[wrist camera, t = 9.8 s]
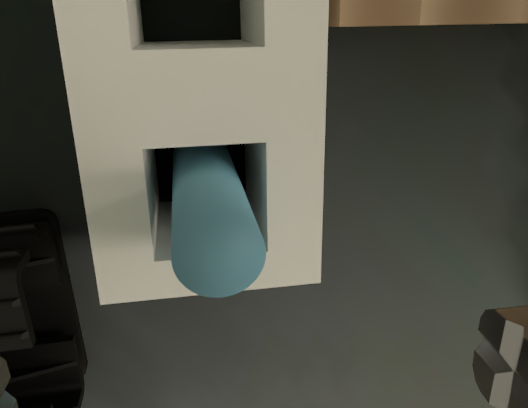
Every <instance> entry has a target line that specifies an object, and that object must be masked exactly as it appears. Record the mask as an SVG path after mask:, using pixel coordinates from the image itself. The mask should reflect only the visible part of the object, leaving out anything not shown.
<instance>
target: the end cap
mask: <svg viewBox="0 0 528 408" xmlns="http://www.w3.org/2000/svg"><path fill="white" fill-rule="evenodd" d="M0 357H2V358H3V359H5V360H6V362H7V366H8V369H9V373H10V376H11V378H10V380H9V382H8V384H7V386H6V388H5V391H6V392H8V393H9V394H10V395H11V396H13V397H14V398H15V399H16V400H17V404H18V408H80V407H81V403H82V400H83V395H84V377H83V375H84V374H85V373H86V369H87V364H88V361H87V356H86V351H85V347H84V342H83V337H82V332H81V328H80V323H79V318H78V313H77V309H76V304H75V299H74V294H73V290H72V285H71V280H70V275H69V271H68V266H67V261H66V256H65V252H64V247H63V242H62V237H61V233H60V228H59V223H58V219H57V217H56V215H55V213H53V212H52V211H50V210H49V209H42V208H40V209H30V210H19V211H8V212H0Z"/></svg>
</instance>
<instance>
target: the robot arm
mask: <svg viewBox="0 0 528 408" xmlns="http://www.w3.org/2000/svg"><path fill="white" fill-rule="evenodd" d="M478 330H479V331H480V333H481V334H482V336H483V337H484V340H483V341H482V342H481V343H480V344H479V345H478V347H477V348H476V349H475V350H474V358H473V371H474V376H475V381H476V383H477V385H478V387H479V390H480V392H481V393H482V395H483V396H484V397H485V399H486V400H487V401H488V403H489V404H491V405H493V406H495V407H496V408H528V305H526V306H516V307H507V308H497V309H488V310H485V311H484V313H483V315H482V316H481V318H480V323H479V328H478ZM10 378H11V376H10V373H9V369H8V366H7V362H6V360H5V359H3V358H2V357H0V408H18V404H17V400H16V399H15V398H14V397H13V396H11V395H10V394H9V393H8V392H6V391H5V388H6V386H7V384H8V382H9V380H10Z"/></svg>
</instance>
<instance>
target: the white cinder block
mask: <svg viewBox="0 0 528 408" xmlns="http://www.w3.org/2000/svg"><path fill="white" fill-rule="evenodd" d="M52 2H53V8H54V15H55V21H56V27H57V34H58V40H59V46H60V53H61V59H62V65H63V72H64V78H65V84H66V91H67V97H68V103H69V110H70V116H71V122H72V129H73V135H74V141H75V148H76V154H77V161H78V167H79V173H80V180H81V186H82V192H83V199H84V205H85V211H86V218H87V224H88V230H89V237H90V243H91V249H92V256H93V262H94V268H95V275H96V281H97V287H98V294H99V300H100V305H105V304H115V303H125V302H135V301H145V300H154V299H164V298H174V297H184V296H194V295H198V294H196V293H194V292H192V291H190V290H189V289H187V288H186V287H185V286H184V285H183V284H182V283H181V282H180V281H179V280H178V278H177V277H176V275H175V273H174V271H173V268H172V263H171V230H172V201H166V202H160V199H159V189H158V179H157V169H156V159H155V149H157V148H175V147H193V146H211V145H229V144H244V150H245V183H246V196H247V199H248V201H249V204H250V206H251V209H252V211H253V214H254V216H255V219H256V221H257V224H258V226H259V229H260V231H261V234H262V236H263V239H264V241H265V246H266V260H265V264H264V267H263V269H262V271H261V273H260V275H259V276H258V278H257V279H256V280H255V281H254V282H253V283H252V284H251V285H250V286H249V287H247V288H246V289H245V290H254V289H264V288H274V287H284V286H294V285H303V284H313V283H321V256H322V222H323V188H324V154H325V120H326V86H327V52H328V18H329V0H240V20H241V40H203V41H160V42H144V37H143V27H142V16H141V6H140V0H52ZM243 291H244V290H243Z"/></svg>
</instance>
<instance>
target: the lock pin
mask: <svg viewBox="0 0 528 408" xmlns="http://www.w3.org/2000/svg"><path fill="white" fill-rule="evenodd" d="M265 260H266V246H265V241H264V239H263V236H262V234H261V231H260V229H259V226H258V224H257V221H256V219H255V216H254V214H253V211H252V209H251V206H250V204H249V201H248V199H247V196H246V194H245V191H244V189H243V186H242V184H241V181H240V179H239V176H238V174H237V171H236V169H235V166H234V164H233V161H232V159H231V156H230V154H229V151H228V149H227V146H226V145H211V146H193V147H175V148H174V152H173V184H172V230H171V263H172V268H173V271H174V273H175V275H176V277H177V278H178V280H179V281H180V282H181V283H182V284H183V285H184V286H185V287H186V288H187V289H189V290H190V291H192V292H194V293H196V294H198V295H201V296H205V297H212V298H221V297H228V296H231V295H234V294H237V293H239V292H241V291H243V290H245V289H246V288H247V287H249V286H250V285H251V284H252V283H253V282H254V281H255V280H256V279H257V278H258V276H259V275H260V273H261V271H262V269H263V267H264V264H265Z"/></svg>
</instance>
